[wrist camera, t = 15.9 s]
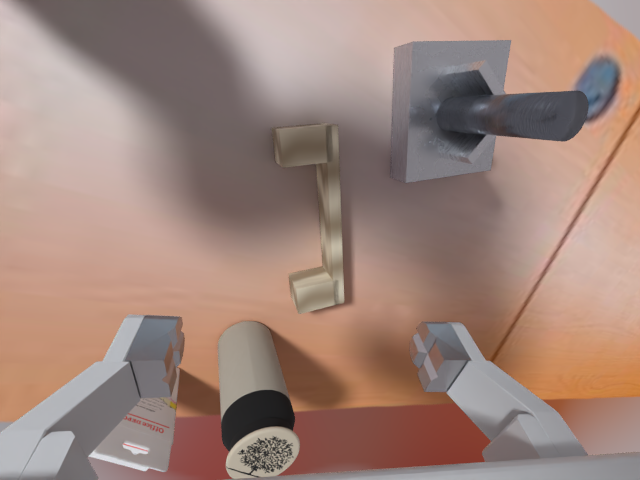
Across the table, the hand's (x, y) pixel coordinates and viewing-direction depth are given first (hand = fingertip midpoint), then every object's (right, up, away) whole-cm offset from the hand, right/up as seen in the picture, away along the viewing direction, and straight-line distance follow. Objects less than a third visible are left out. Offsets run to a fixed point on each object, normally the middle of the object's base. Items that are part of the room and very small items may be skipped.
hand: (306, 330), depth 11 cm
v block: (+16, +20, +33) cm, 42 cm away
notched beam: (-1, +6, +32) cm, 33 cm away
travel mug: (-11, -12, +37) cm, 40 cm away
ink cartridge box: (-24, -15, +33) cm, 44 cm away
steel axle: (+17, +19, +29) cm, 39 cm away
